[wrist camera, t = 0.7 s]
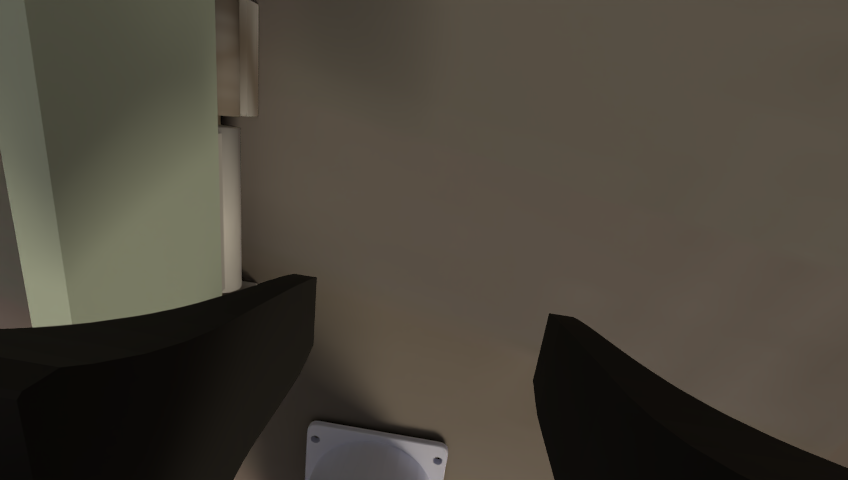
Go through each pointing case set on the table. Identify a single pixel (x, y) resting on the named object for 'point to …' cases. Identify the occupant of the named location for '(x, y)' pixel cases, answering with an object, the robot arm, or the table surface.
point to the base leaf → (237, 62)
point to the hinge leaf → (117, 157)
